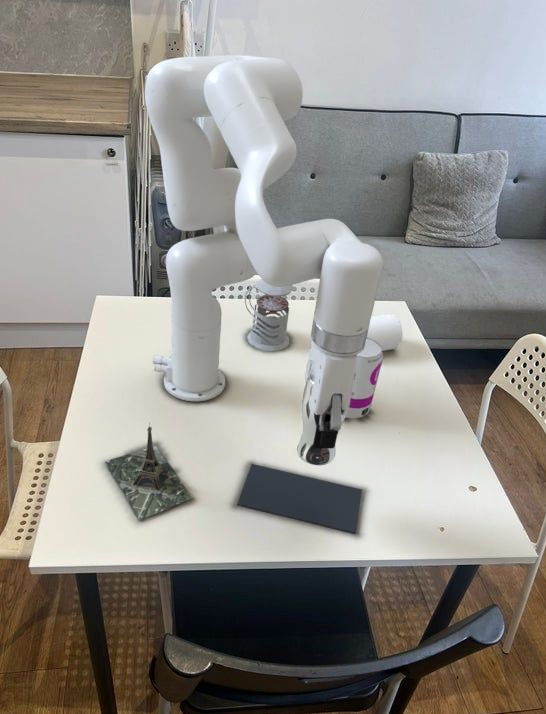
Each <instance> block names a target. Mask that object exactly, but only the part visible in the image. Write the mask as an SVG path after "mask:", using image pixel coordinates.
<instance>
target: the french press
mask: <svg viewBox="0 0 546 714" xmlns="http://www.w3.org/2000/svg"><path fill="white" fill-rule="evenodd" d="M253 289H255V293H258V294H259V292H260V293H261V294H263V295H261V296H258V298H257V299H256V304H255V305H254V307H253V306H252V302H251V298H250V297H251V292H252V290H253ZM293 290H294V285H289V286H285V287H275V286H272V285H269V284H268V283H266V282H265V281H264V280H263V279H262V278H260V279H258V281H257V282H256V283H255V284H254V285H252V286H251V287H249V288H248V289H247V291H246V292H245V294H244V304H245V308H246V310H247V311H248V313H249V314H250V315H251V316H252V317H253V318H252V330H251V331H249V333H248V334H247V341H248V343H249V344H250V345H251V346H252V347H254V348H256V349H258V350H262V351H265V352H278V351H282V350H283V349H285V348H287V347H288V346H289V345H290V337H289V336H288V335H287V329H288V321H289V315H290V314H289V313H290V307H289V306H290V303H289V301H288V300H287V299H286V298H285V297H286V296H288V295H290V294H291V293H292V292H293ZM247 295H248V301H249V306H250V307H251V310H253V313H252V312H251V311H250V310H249V308H248V306H247ZM275 315H276V316H275Z"/></svg>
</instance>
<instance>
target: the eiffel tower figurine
mask: <svg viewBox="0 0 546 714" xmlns="http://www.w3.org/2000/svg"><path fill="white" fill-rule="evenodd" d="M152 430H153V427H152V426H151V423H150V421H149V422H148V427H147V442H146V443H147V444H146V445H147V446H146V448H143V449H140V450H137V451H134V452H131V453H128V454H124V455H121V456H117V457H114V458H111V459H108V460H104V463H105V465H106V467H107V468H108V470H109V472H110V474H111V475H112V477H113V479H114V481H115V482H116V484H117V485H118V487H119V488H120V490H121V492H122V493H123V495H124V497H125V499H126V501H127V503H128V504H129V505H130V507H131V509H132V511H133V513H134V514H135V516H136V518H137V520H138V521H141V520H144V519H147V518H149V517H151V516H154V515H156V514H158V513H161V512H163V511H166V510H168V509H170V508H173V507H175V506H177V505H180V504H181V503H184V502H186V501H189V500H191V499H193V496H192V495H191V493H190V492H189V491H188V488H186V486H185V485H184V483H183V482H182V480H181V479H180V478H179V476H178V475H177V473H176V472H175V470H174V469H173V467H172V466H171V465H170V463H169V462H168V461H167V459H166V458H165V456H164V455H163V454H162V452H161V451H160V449H159V448H158V447H157V445H154V444H153V434H152Z"/></svg>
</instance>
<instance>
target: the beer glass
mask: <svg viewBox="0 0 546 714" xmlns="http://www.w3.org/2000/svg"><path fill="white" fill-rule="evenodd" d="M310 371H311V370H309V372H308V377H307V381H306V383H305V385H304V389H303V394H302V399H301V400H302V401H301V420H302V433H301V437H300V439H299V441H298V444H297V447H296V452H297V455H298V457H299V458H300V459H301V460H302V461H303V462H304V463H306V464H309V465H311V466H325V465H328V464H330V463H332V462H333V461H334V460H335V458H336V452H337V451H336V446H335V447H334V448H314V446H313V442H314V437H315V432H316V426H319V419H320V415H319V414H318V415H316V414H314V412H313V411H312V409H311V405H310V402H311V394H312V388H313V380H312V379H311V376H310ZM351 394H352V392H351ZM350 400H351V397H350ZM349 405H350V402H349ZM348 409H349V406H348ZM348 409H347V412H348ZM327 410H331V403H330V406H329V407H328V408H327ZM347 412H346V413H345V414H344V415H342V414H341V427H342V426H343V425H344V422H345V420H346V415H347ZM330 420H331V415H325V422H330ZM340 430H341V429H339V431H338V434H337V436H338V435H339V433H340Z"/></svg>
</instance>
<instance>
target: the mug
mask: <svg viewBox="0 0 546 714" xmlns="http://www.w3.org/2000/svg"><path fill="white" fill-rule="evenodd" d="M367 337H368V338H371V339H373V340H375V341H376V342H378V343H379V344H380V346H381V349H382V352H383V351H390V350H395V349H398V348H399V347H400V345H401V343H402V340H403V328H402V323H401V321H400V319H399V318H398V317H397V315H395V314H392V313H389V314H382V315H375V316H374V315H372V316H371V320H370V324H369V329H368V333H367Z"/></svg>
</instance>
